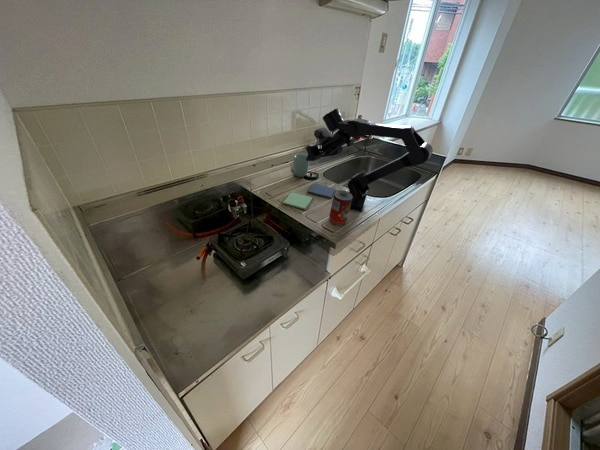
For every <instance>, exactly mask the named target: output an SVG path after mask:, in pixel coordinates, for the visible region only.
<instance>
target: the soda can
mask: <svg viewBox="0 0 600 450" xmlns="http://www.w3.org/2000/svg"><path fill="white" fill-rule="evenodd" d="M352 199H353V196H352V194H351V193H349V191H347V190H344V189H339V190H335V192H334V194H333V196H332V202H331V206H330V211H329V219H330V222H331V223H332V224H334V225H339V226H340V225H344V224H345V222H347V220H348V217H349V214H350V210H351V209H350V206H351V202H352Z"/></svg>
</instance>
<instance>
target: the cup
mask: <svg viewBox="0 0 600 450" xmlns="http://www.w3.org/2000/svg"><path fill="white" fill-rule="evenodd" d="M307 156H308V154H304V153H296V154H295V155H294V156H293V162H292V163H293V164H292V165H293V167H292V171H293V174H294V176H296V177H298V178H303V177H306V175H307V174H308V171H309V167H310V161H306V157H307Z"/></svg>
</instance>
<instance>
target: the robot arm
mask: <svg viewBox="0 0 600 450" xmlns="http://www.w3.org/2000/svg"><path fill="white" fill-rule="evenodd" d="M321 119H322V120H323V122H324V124H325V126H326V127H325V126H322V127H318V128H316V129H315V130H314V132H313V136H314V138H316V139H317V140H319V145H320V148H319V147H318V145H317V144H316V143H312V144H308V145H307V146H306V147H305V150H306V152H307V157H306V161H309V162H315V161H318V160H320V159H321V158H325V157H333V156H336V155H339V154H341V153H343V151H344V148H343V146H345V145H346V146H347V147H348V148H350V147H351V146H353V145H354V144H355V138H358V137H367V136H373V137H380V138H381V137H382V138H388V139H389V138H390V139H391V138H392V139H399V140H401V141H402V142H403V144H404V147H405V149H406V151H407V152H406V153H405V154H403V155H402V156H400V157H398V158H396V159H394V160H392V161H390V162H388V163H386V164H383V165H382V166H379V167H378V168H376V169H374V170H372V171H369V172H366V170H365V169H363V170H362V171H361V172H359V173H358V172H356V174H354V175H353V176H351V177H350V180H348V182H347V188H348V192H349V193H351V194H352V196H353V199H352V202H351V206H350V210H351V211H357V212H359V213H360V212H361V213H363V210H364V206H365V202H366V199H367V194H369V192H370V191H371V187H370V186H369V185H370V184H371V183H374V182H376V181H378V180H380V179H382V178H385V177H387V176H389V175H392V174H393V173H396V172H398V171H400V170H403V169H406V168H411V167H416V166H420V165H423V164H425V163H426V162H427V161H428V160H429V159H430V158H431V156H432V154H433V146H432V145H431V144H429V143H427V142H426V141H425V140H424V138H423V137H422V136H421V135H420V134H419V133H418V132H417V131H416V129H415V128H414V126H412V125H397V124H388V123H387V124H385V123H377V122H372V121H369V120H367V119H364V118H359V117H358V118H354V119H346V120H344V118H343V116H342V114H341V112H340V110H339V108H338V107H336V108H334V109H333V110H331V111H330V112H328V113H326V114H324V116H322V118H321ZM331 132H332V133H333V134H332V133H331Z"/></svg>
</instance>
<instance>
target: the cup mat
mask: <svg viewBox="0 0 600 450" xmlns="http://www.w3.org/2000/svg"><path fill="white" fill-rule="evenodd" d="M312 200H313V197H311V196H308V195H304V194H302V193H301V194H300V193H298V192H293V191H292V192H290V193H289V194H288V195H287V197H286V198H285V199H284V200H283V201H282V204H283V205H284V206H285V205H286V206H289V207H293V208H296V209H301V210H303V211H305V210H306V209H307V208H308V206H309V205H310V204H311V201H312Z"/></svg>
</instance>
